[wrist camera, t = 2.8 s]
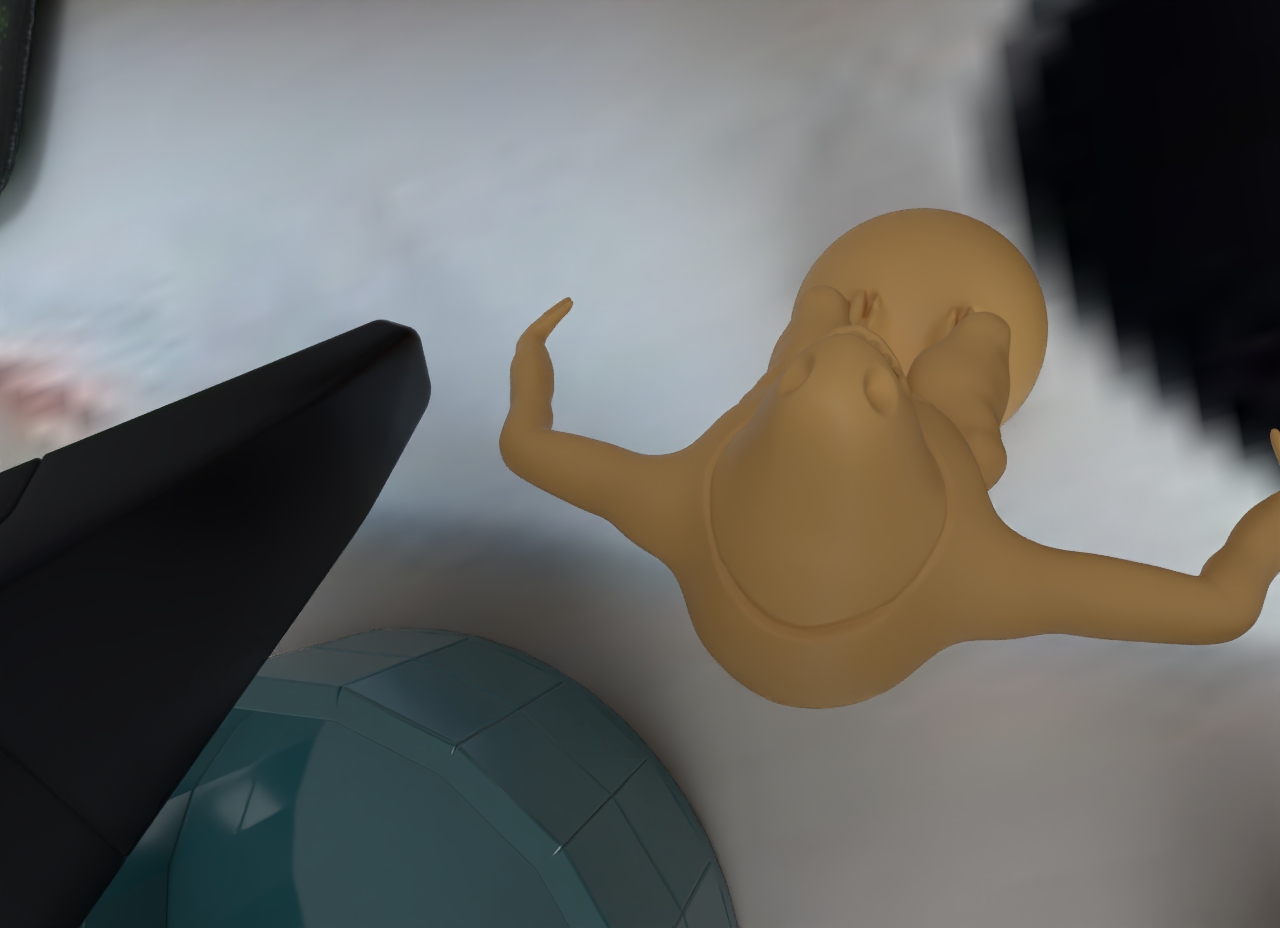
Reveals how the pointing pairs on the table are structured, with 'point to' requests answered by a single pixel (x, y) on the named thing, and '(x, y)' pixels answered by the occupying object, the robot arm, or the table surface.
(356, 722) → the pot
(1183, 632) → the figurine
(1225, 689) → the table surface
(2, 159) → the mouse mat
